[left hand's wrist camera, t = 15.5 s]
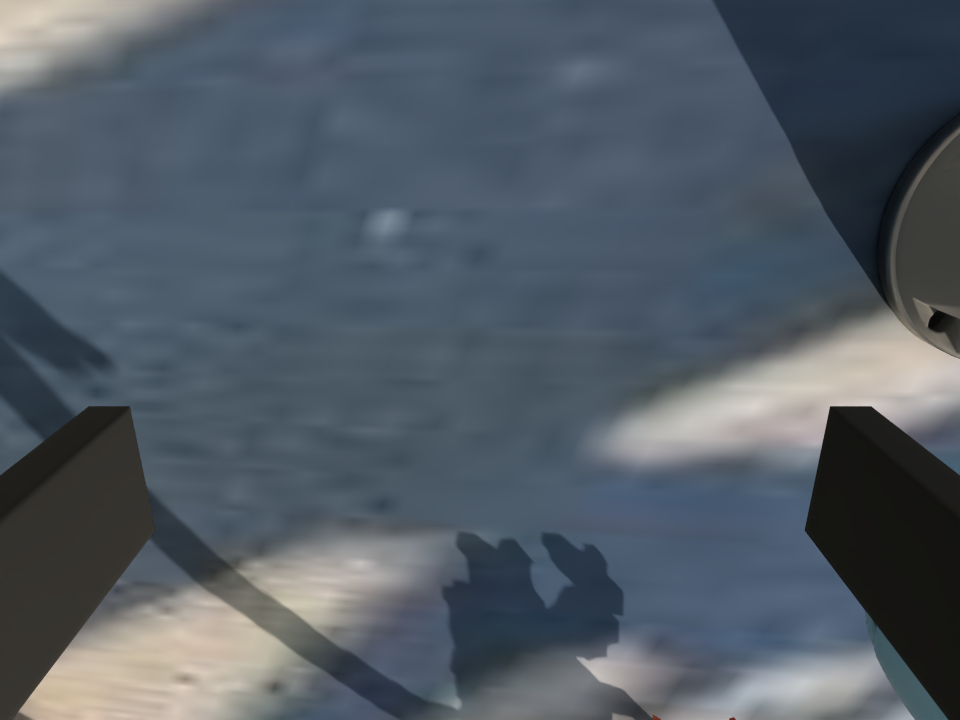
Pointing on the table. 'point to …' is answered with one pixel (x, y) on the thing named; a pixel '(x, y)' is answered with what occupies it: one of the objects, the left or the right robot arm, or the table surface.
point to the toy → (656, 719)
